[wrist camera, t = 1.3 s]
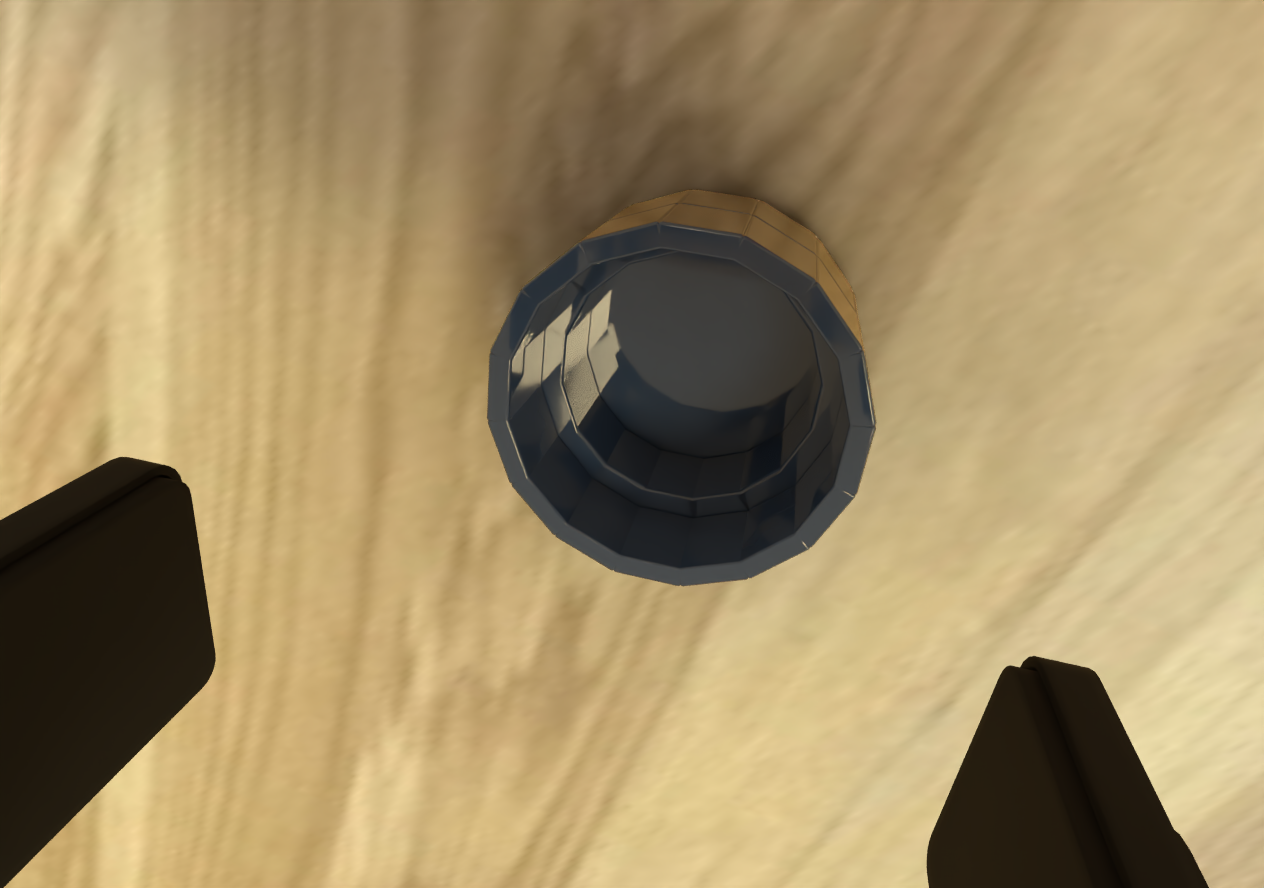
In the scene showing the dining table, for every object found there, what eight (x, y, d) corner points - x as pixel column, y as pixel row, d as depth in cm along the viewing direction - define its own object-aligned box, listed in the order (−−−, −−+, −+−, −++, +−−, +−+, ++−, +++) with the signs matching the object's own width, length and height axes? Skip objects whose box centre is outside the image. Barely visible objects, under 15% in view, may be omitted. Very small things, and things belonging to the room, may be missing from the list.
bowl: (570, 165, 17) (494, 194, 13) (897, 215, 16) (923, 263, 12) (548, 448, 20) (481, 542, 16) (820, 505, 19) (821, 619, 15)
